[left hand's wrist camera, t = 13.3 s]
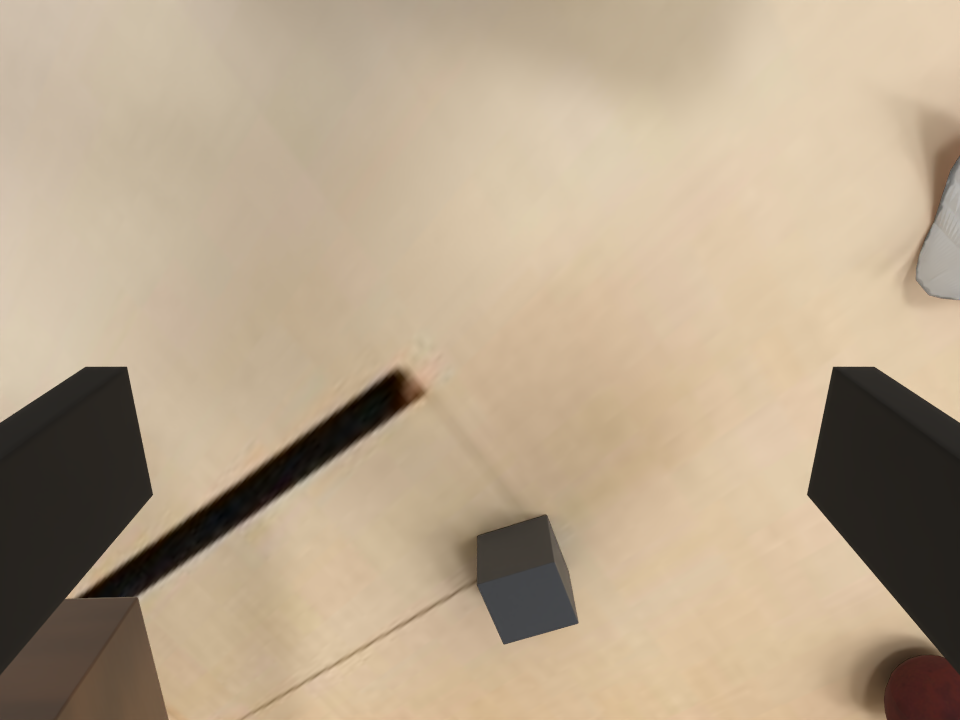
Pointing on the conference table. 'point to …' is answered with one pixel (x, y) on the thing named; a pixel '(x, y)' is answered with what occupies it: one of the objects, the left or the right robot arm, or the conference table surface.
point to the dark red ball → (923, 690)
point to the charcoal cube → (525, 580)
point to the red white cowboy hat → (943, 245)
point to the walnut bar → (85, 666)
